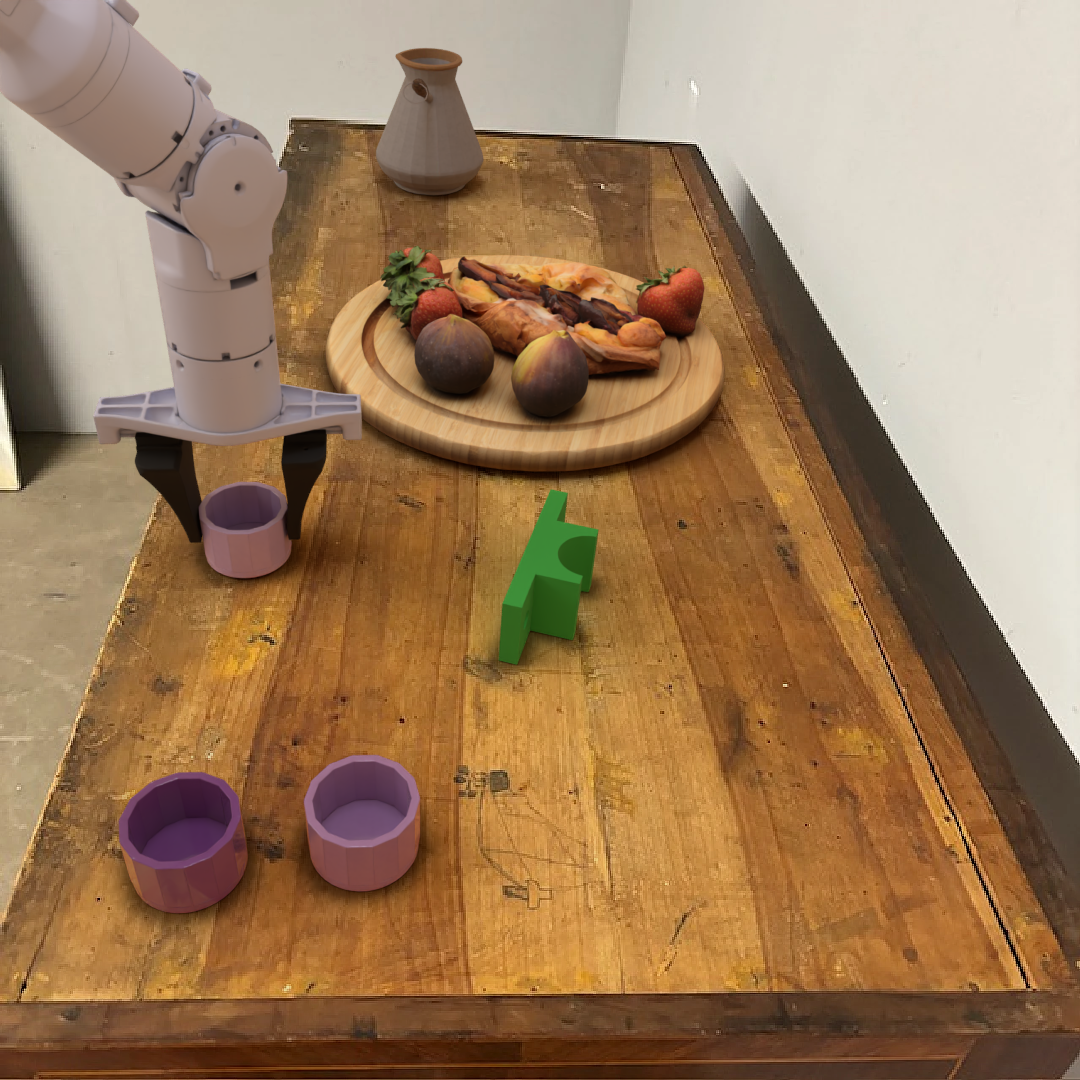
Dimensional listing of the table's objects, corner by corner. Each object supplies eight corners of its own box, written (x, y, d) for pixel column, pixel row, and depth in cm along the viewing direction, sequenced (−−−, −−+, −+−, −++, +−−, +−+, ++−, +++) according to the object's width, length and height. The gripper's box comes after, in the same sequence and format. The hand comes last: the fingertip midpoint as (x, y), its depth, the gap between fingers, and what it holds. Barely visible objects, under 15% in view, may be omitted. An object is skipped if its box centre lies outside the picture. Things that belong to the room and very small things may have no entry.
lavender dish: (209, 584, 65) (202, 540, 63) (203, 530, 69) (195, 486, 67) (296, 572, 67) (292, 527, 64) (285, 519, 70) (281, 476, 68)
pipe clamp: (561, 676, 62) (567, 618, 59) (498, 662, 62) (501, 603, 59) (601, 555, 70) (608, 499, 67) (545, 543, 71) (550, 487, 68)
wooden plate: (683, 282, 102) (698, 197, 97) (761, 483, 78) (786, 383, 72) (341, 271, 99) (336, 183, 94) (309, 477, 74) (300, 372, 69)
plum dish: (133, 926, 48) (119, 881, 46) (130, 829, 52) (117, 783, 50) (253, 899, 49) (245, 854, 47) (241, 806, 53) (234, 761, 51)
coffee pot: (383, 158, 121) (380, 14, 112) (485, 166, 122) (491, 23, 112) (355, 237, 105) (349, 76, 95) (474, 246, 105) (479, 86, 96)
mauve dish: (318, 904, 49) (314, 859, 47) (302, 811, 53) (297, 765, 51) (430, 878, 51) (430, 834, 49) (406, 789, 55) (405, 744, 52)
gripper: (357, 300, 62) (365, 489, 71) (93, 300, 60) (134, 494, 69) (358, 363, 57) (366, 559, 65) (68, 365, 55) (116, 567, 63)
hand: (247, 531), depth 67 cm, fingers closed on lavender dish, 5 cm apart
